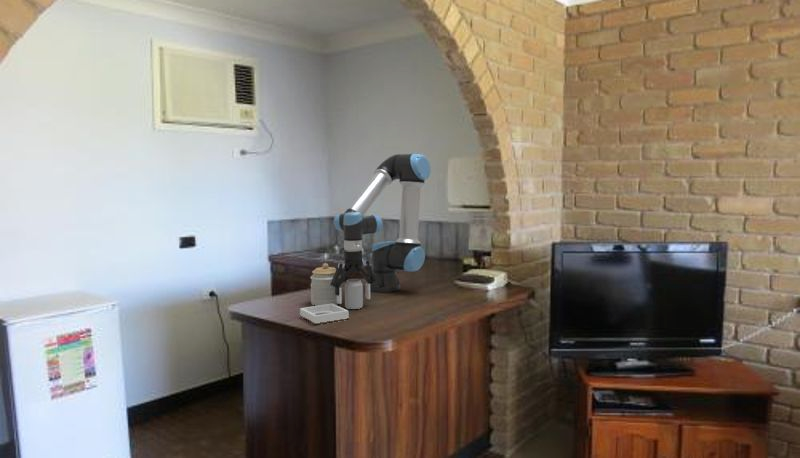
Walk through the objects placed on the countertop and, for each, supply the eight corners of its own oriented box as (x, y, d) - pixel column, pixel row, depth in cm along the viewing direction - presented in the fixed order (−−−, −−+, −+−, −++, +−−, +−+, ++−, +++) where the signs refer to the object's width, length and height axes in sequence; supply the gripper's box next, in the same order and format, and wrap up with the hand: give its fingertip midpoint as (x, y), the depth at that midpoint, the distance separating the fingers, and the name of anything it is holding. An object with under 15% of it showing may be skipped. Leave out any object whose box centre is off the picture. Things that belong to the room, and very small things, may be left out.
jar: (346, 301, 238) (345, 261, 236) (333, 308, 226) (332, 266, 224) (319, 299, 242) (318, 260, 240) (305, 306, 230) (304, 264, 228)
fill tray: (300, 317, 213) (299, 308, 212) (332, 311, 220) (332, 303, 220) (315, 325, 201) (315, 316, 201) (348, 319, 209) (348, 310, 208)
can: (360, 311, 221) (359, 282, 220) (342, 310, 223) (342, 281, 222) (365, 306, 229) (364, 278, 227) (347, 305, 230) (347, 277, 229)
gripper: (329, 253, 213) (330, 306, 216) (383, 248, 227) (384, 298, 229) (321, 251, 219) (322, 303, 222) (374, 246, 233) (374, 295, 235)
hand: (353, 300), depth 226 cm, fingers open, 13 cm apart
